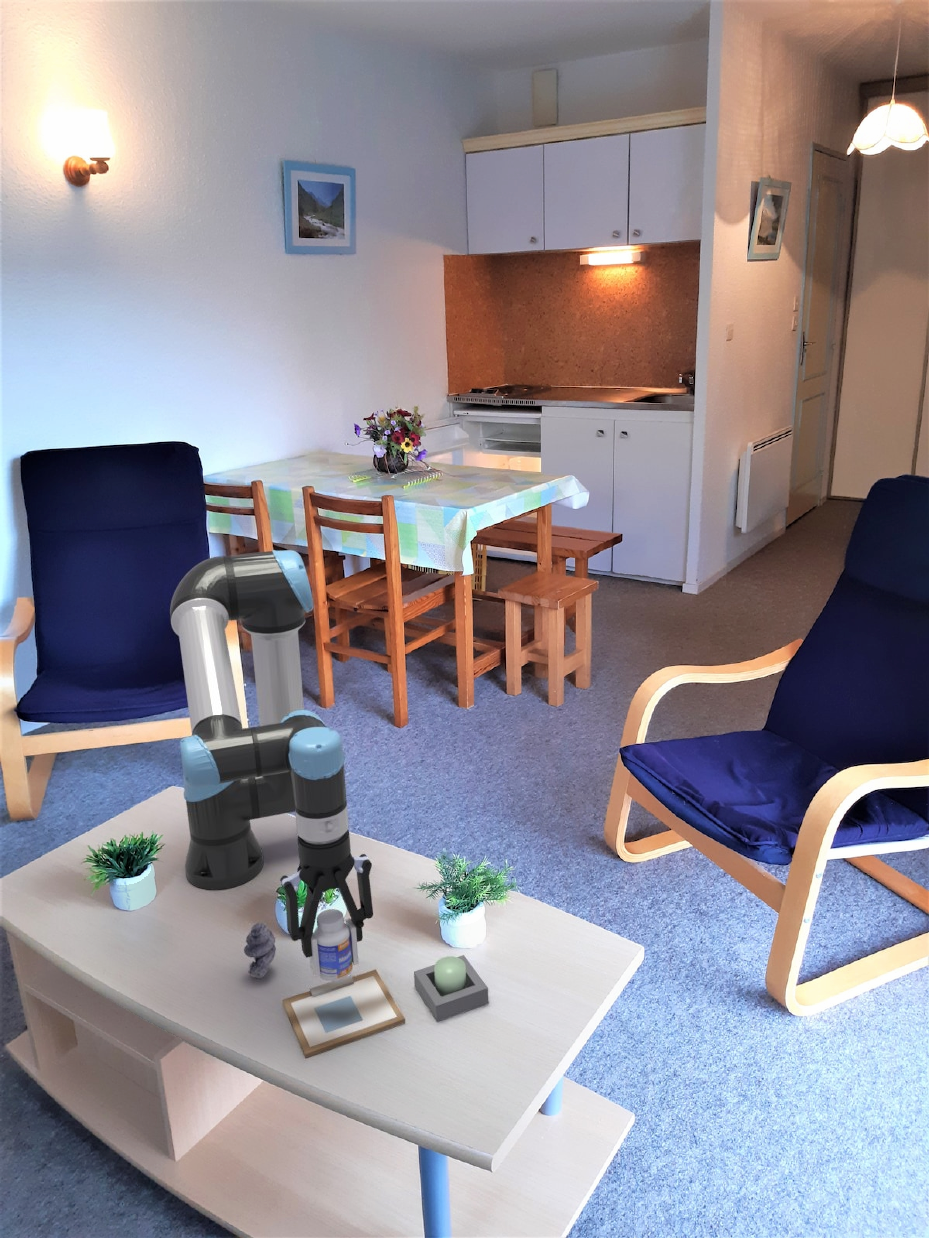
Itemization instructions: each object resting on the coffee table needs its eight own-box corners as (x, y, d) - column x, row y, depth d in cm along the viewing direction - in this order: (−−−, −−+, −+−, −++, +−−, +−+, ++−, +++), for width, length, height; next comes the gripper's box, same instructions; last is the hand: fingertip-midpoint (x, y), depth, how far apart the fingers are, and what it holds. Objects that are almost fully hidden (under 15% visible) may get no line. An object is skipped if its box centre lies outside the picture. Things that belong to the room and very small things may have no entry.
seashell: (245, 968, 161) (239, 918, 158) (277, 960, 163) (271, 911, 160) (249, 988, 156) (243, 937, 153) (281, 980, 158) (276, 929, 155)
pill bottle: (346, 984, 143) (341, 929, 140) (312, 980, 144) (307, 926, 141) (357, 960, 148) (352, 907, 145) (324, 957, 149) (319, 904, 146)
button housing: (414, 986, 156) (413, 971, 155) (464, 969, 159) (463, 954, 158) (436, 1021, 148) (436, 1005, 147) (488, 1003, 152) (488, 987, 151)
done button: (430, 982, 154) (429, 962, 153) (458, 973, 156) (457, 952, 155) (442, 1001, 150) (442, 980, 149) (471, 991, 152) (470, 970, 151)
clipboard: (282, 1003, 153) (281, 995, 152) (376, 973, 159) (375, 965, 159) (305, 1058, 142) (304, 1049, 141) (405, 1022, 148) (404, 1014, 147)
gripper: (267, 860, 132) (282, 999, 139) (391, 828, 139) (399, 961, 146) (254, 835, 138) (269, 968, 145) (373, 805, 145) (382, 933, 153)
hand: (334, 964), depth 146 cm, fingers closed on pill bottle, 5 cm apart
